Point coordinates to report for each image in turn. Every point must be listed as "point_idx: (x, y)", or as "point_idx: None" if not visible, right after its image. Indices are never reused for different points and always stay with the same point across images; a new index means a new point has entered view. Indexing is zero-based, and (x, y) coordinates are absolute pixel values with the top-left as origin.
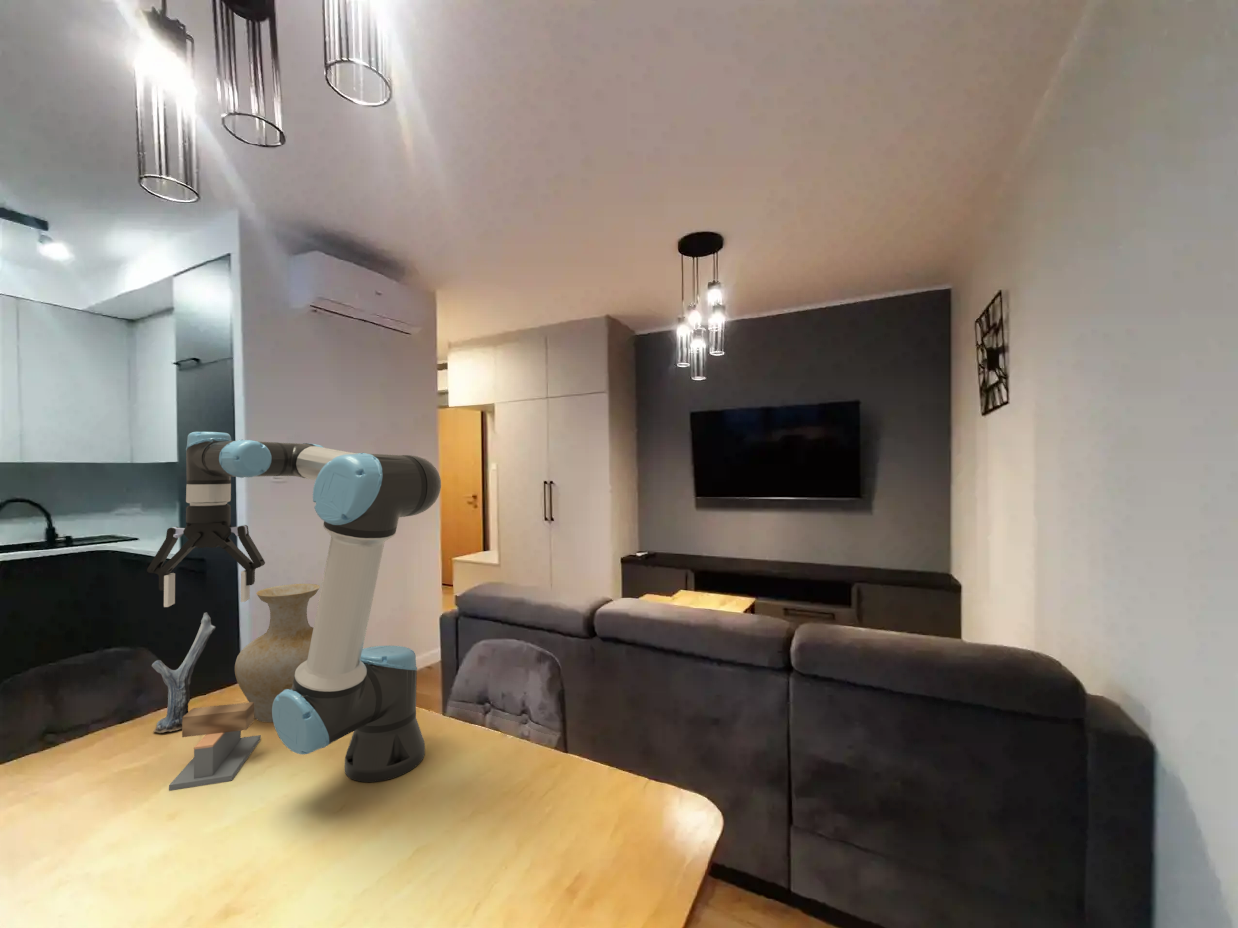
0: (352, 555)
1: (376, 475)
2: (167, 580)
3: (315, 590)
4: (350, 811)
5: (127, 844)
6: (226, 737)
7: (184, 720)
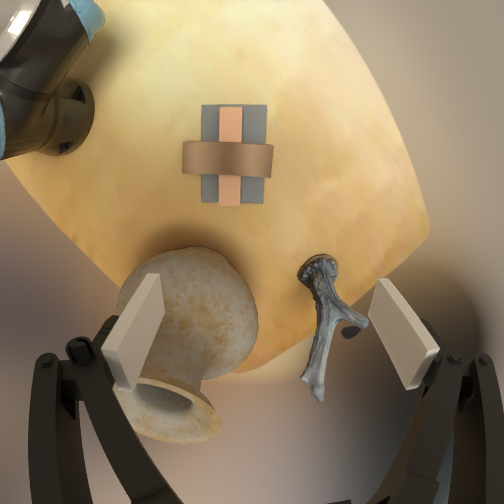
0: None
1: None
2: (421, 336)
3: None
4: None
5: (263, 25)
6: None
7: (270, 145)
